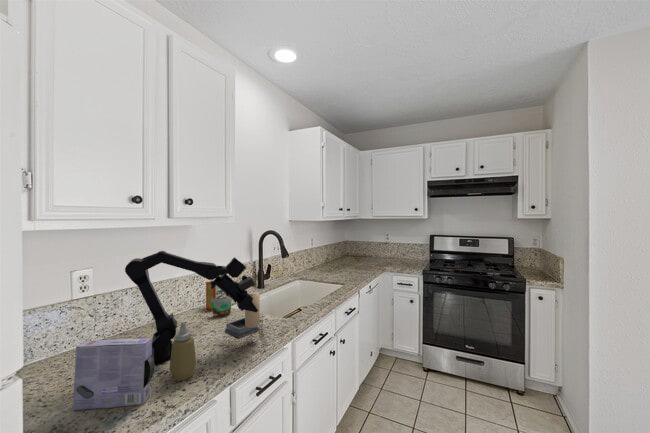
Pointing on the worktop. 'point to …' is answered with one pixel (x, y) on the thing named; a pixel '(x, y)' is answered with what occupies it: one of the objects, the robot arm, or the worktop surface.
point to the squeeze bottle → (182, 355)
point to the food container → (221, 306)
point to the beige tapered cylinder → (250, 316)
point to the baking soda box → (212, 294)
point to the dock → (239, 328)
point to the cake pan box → (112, 373)
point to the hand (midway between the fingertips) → (255, 309)
